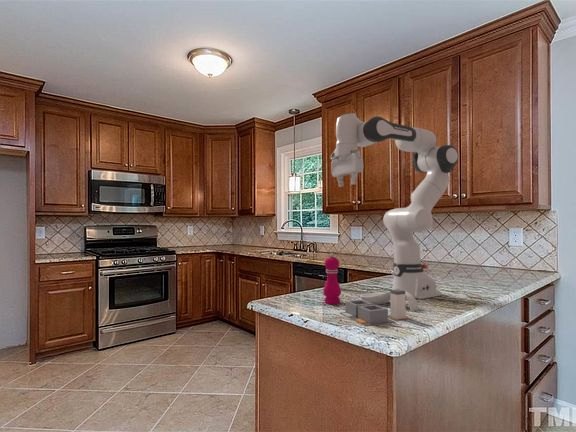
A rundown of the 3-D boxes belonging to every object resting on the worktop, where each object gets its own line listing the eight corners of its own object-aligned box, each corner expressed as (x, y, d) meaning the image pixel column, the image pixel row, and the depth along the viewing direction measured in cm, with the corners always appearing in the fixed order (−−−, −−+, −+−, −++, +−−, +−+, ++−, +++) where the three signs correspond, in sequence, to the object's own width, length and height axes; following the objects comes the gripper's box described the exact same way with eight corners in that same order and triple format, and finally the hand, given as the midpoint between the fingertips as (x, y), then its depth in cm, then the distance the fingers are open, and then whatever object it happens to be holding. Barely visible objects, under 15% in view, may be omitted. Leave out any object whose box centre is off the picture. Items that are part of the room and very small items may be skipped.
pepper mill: (340, 304, 139) (340, 254, 140) (322, 304, 141) (322, 254, 141) (341, 300, 146) (341, 252, 147) (324, 300, 148) (323, 252, 148)
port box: (366, 312, 127) (365, 298, 127) (394, 324, 112) (394, 308, 112) (339, 315, 123) (339, 301, 123) (365, 328, 108) (365, 312, 108)
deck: (399, 316, 122) (399, 313, 122) (413, 321, 116) (413, 319, 116) (382, 318, 120) (382, 315, 120) (396, 323, 113) (396, 321, 113)
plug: (398, 315, 120) (398, 289, 120) (405, 318, 117) (405, 291, 117) (390, 316, 119) (390, 289, 119) (397, 319, 115) (396, 291, 115)
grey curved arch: (354, 304, 142) (354, 286, 142) (372, 299, 149) (372, 282, 150) (407, 315, 124) (407, 295, 124) (424, 310, 131) (424, 290, 131)
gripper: (367, 148, 139) (367, 183, 138) (341, 157, 158) (341, 187, 157) (353, 146, 136) (353, 182, 136) (328, 156, 155) (328, 187, 155)
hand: (346, 185), depth 147 cm, fingers open, 8 cm apart
